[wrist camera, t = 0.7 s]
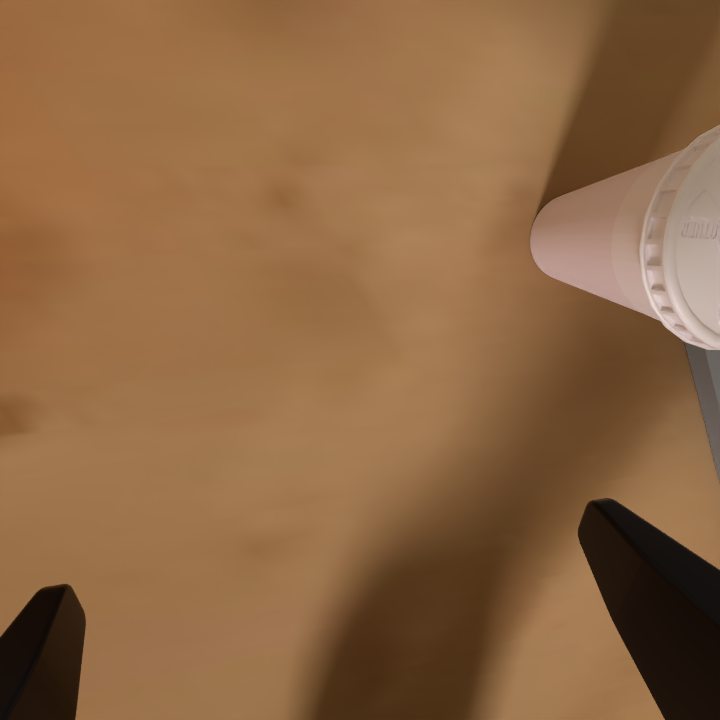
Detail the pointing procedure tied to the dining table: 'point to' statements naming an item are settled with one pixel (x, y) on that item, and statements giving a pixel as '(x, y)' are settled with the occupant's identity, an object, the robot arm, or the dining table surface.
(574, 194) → the smoothie
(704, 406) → the slate trivet
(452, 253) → the dining table surface
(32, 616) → the robot arm
